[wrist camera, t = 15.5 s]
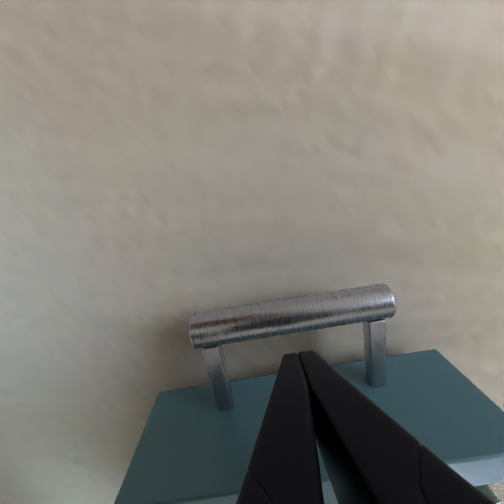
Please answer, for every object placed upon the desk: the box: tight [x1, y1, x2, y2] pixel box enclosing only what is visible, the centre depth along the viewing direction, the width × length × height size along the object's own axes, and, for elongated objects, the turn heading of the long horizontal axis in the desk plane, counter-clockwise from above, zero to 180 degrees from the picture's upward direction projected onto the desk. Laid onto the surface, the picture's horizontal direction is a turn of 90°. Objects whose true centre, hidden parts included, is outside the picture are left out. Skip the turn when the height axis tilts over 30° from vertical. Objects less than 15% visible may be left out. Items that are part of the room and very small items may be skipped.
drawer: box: [114, 283, 504, 504], centre depth 10 cm, size 17×12×4 cm
